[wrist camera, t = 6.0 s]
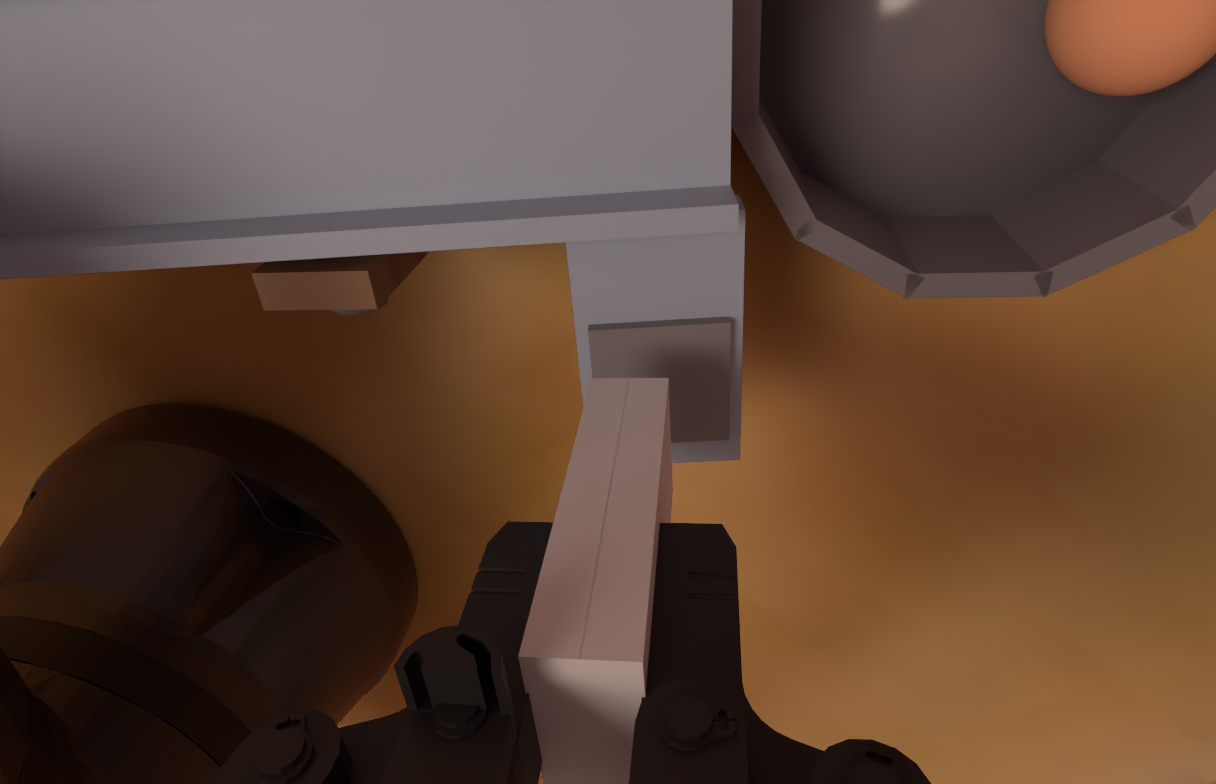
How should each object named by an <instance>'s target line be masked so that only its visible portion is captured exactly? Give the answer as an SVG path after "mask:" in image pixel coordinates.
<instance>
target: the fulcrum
mask: <svg viewBox="0 0 1216 784" xmlns="http://www.w3.org/2000/svg"><path fill="white" fill-rule="evenodd" d="M428 252H429V251H424V252H409V253H394V254H378V255H363V256H348V257H332V258H317V259H302V260H286V261H271V262H266V263H265V264H263V265H262V266H260V267H259V268H258V269H256V270H255V271H254V272H252V273H251V274H252V277H253V280H254V283H255V286H256V289H257V292H258V295H259V298H260V300H261V303H262V306H263V309H264V311H281V310H333V312H335V313H336V314H339V315H359V314H364V313H368V312H371V311H374V310H376V309H378V308H380V307H382V306H383V305H385V304H386V303H387V301H388V297H389V296H390V295H391V293H392V292H393V291H394V290H395V289H396V288H397V287H398V286H399V285H400V283H401V282H402V281H403V280H404V279H405V278H406V277H407V276H408V275H409V273H410V272H411V271H412V270H413V269H414V268H415V267H416V266H417V265H418V263H419V262H420V261H421V260H422V259H423V258H424V257H425V256H426V255H427V253H428Z"/></svg>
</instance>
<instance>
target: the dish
mask: <svg viewBox="0 0 1216 784" xmlns="http://www.w3.org/2000/svg"><path fill="white" fill-rule="evenodd" d="M1047 4H1048V0H732V89H731V127H732V129H733V131H734V132H735V134H736V136H737V138H738V139H739V141H740V143H741V145H742V147H743V148H744V150H745V152H746V154H747V155H748V157H749V159H750V161H751V162H752V164H753V166H754V168H755V169H756V171H757V173H758V175H759V176H760V178H761V180H762V182H763V183H764V185H765V187H766V189H767V190H768V192H769V194H770V196H771V198H772V199H773V201H774V203H775V205H776V206H777V208H778V210H779V212H780V213H781V215H782V217H783V219H784V220H785V222H786V224H787V226H788V227H789V229H790V231H791V233H792V235H793V238H794V239H795V240H796V241H797V240H798V241H800V242H802V243H803V244H805V245H807V246H809V247H811V248H813V249H815V250H817V251H818V252H820V253H822V254H824V255H826V256H828V257H830V258H832V259H834V260H835V261H837V262H839V263H841V264H843V265H845V266H847V267H849V268H851V269H852V270H854V271H856V272H858V273H860V274H862V275H864V276H866V277H867V278H869V279H871V280H873V281H875V282H877V283H879V284H881V285H883V286H884V287H886V288H888V289H890V290H892V291H894V292H896V293H898V294H900V295H901V296H903V297H904V298H907V299H909V298H948V297H1020V296H1042V297H1044V296H1048V295H1049V294H1051V293H1053V292H1055V291H1058V290H1060V289H1062V288H1064V287H1066V286H1069V285H1071V284H1073V283H1075V282H1078V281H1080V280H1082V279H1084V278H1086V277H1089V276H1091V275H1093V274H1095V273H1097V272H1100V271H1102V270H1104V269H1106V268H1109V267H1111V266H1113V265H1115V264H1117V263H1120V262H1122V261H1124V260H1126V259H1128V258H1131V257H1133V256H1135V255H1137V254H1140V253H1142V252H1144V251H1146V250H1148V249H1151V248H1153V247H1155V246H1157V245H1159V244H1162V243H1164V242H1166V241H1168V240H1171V239H1173V238H1175V237H1177V236H1179V235H1182V234H1184V233H1186V232H1188V231H1190V230H1191V231H1192V230H1193V229H1195V228H1196V226H1197V225H1198V224H1199V223H1200V222H1201V221H1202V220H1203V219H1204V218H1205V217H1206V216H1207V215H1208V214H1209V213H1210V212H1211V211H1212V210H1213V209H1214V208H1215V207H1216V54H1215V55H1214V56H1213V57H1212V58H1211V59H1210V60H1209V61H1208V62H1206V63H1205V64H1204V65H1203V66H1201V67H1200V68H1199V69H1197V70H1196V71H1195V72H1193V73H1192V74H1190V75H1189V76H1187V77H1185V78H1183V79H1182V80H1180V81H1178V82H1176V83H1174V84H1172V85H1170V86H1167V87H1165V88H1162V89H1159V90H1157V91H1153V92H1149V93H1145V94H1140V95H1134V96H1120V97H1118V96H1108V95H1101V94H1097V93H1093V92H1090V91H1087V90H1085V89H1083V88H1081V87H1079V86H1077V85H1075V84H1073V83H1072V82H1071V81H1070V80H1068V79H1067V78H1066V77H1065V76H1064V75H1063V74H1062V73H1061V72H1060V71H1059V70H1058V68H1057V67H1056V66H1055V64H1054V63H1053V60H1052V58H1051V56H1050V54H1049V52H1048V49H1047V45H1046V40H1045V30H1044V22H1045V13H1046V8H1047Z"/></svg>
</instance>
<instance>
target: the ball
mask: <svg viewBox="0 0 1216 784" xmlns="http://www.w3.org/2000/svg"><path fill="white" fill-rule="evenodd" d="M1044 30H1045V40H1046V45H1047V49H1048V52H1049V54H1050V56H1051V58H1052V60H1053V63H1054V64H1055V66H1056V67H1057V68H1058V70H1059V71H1060V72H1061V73H1062V74H1063V75H1064V76H1065V77H1066V78H1067V79H1068V80H1070V81H1071V82H1072V83H1073V84H1075V85H1077V86H1079V87H1081V88H1083V89H1085V90H1087V91H1090V92H1093V93H1097V94H1101V95H1108V96H1118V97H1120V96H1134V95H1140V94H1145V93H1149V92H1153V91H1157V90H1159V89H1162V88H1165V87H1167V86H1170V85H1172V84H1174V83H1176V82H1178V81H1180V80H1182V79H1183V78H1185V77H1187V76H1189V75H1190V74H1192V73H1193V72H1195V71H1196V70H1197V69H1199V68H1200V67H1201V66H1203V65H1204V64H1205V63H1206V62H1208V61H1209V60H1210V59H1211V58H1212V57H1213V56H1214V55H1215V54H1216V0H1048V4H1047V8H1046V13H1045V22H1044Z"/></svg>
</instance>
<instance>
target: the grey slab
mask: <svg viewBox="0 0 1216 784" xmlns="http://www.w3.org/2000/svg"><path fill="white" fill-rule="evenodd" d="M731 89H732V0H0V279H10V278H26V277H41V276H56V275H72V274H87V273H102V272H118V271H133V270H148V269H164V268H179V267H194V266H210V265H225V264H240V263H256V262H271V261H286V260H302V259H317V258H332V257H348V256H363V255H378V254H394V253H409V252H424V251H440V250H455V249H470V248H486V247H501V246H516V245H532V244H547V243H562V242H566V251H567V260H568V269H569V279H570V288H571V297H572V307H573V316H574V325H575V334H576V344H577V353H578V362H579V372H580V381H581V390H582V400H583V407H584V404H585V400H586V396H587V392H588V388H589V385H590V381H591V378H669V405H670V433H671V460H672V463H681V462H702V461H722V460H740V436H741V391H742V345H743V300H744V255H745V207H744V205H743V203H742V201H741V198H740V196H739V194H738V195H734V192H733V190H732V188H731V185H730V178H731Z"/></svg>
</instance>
